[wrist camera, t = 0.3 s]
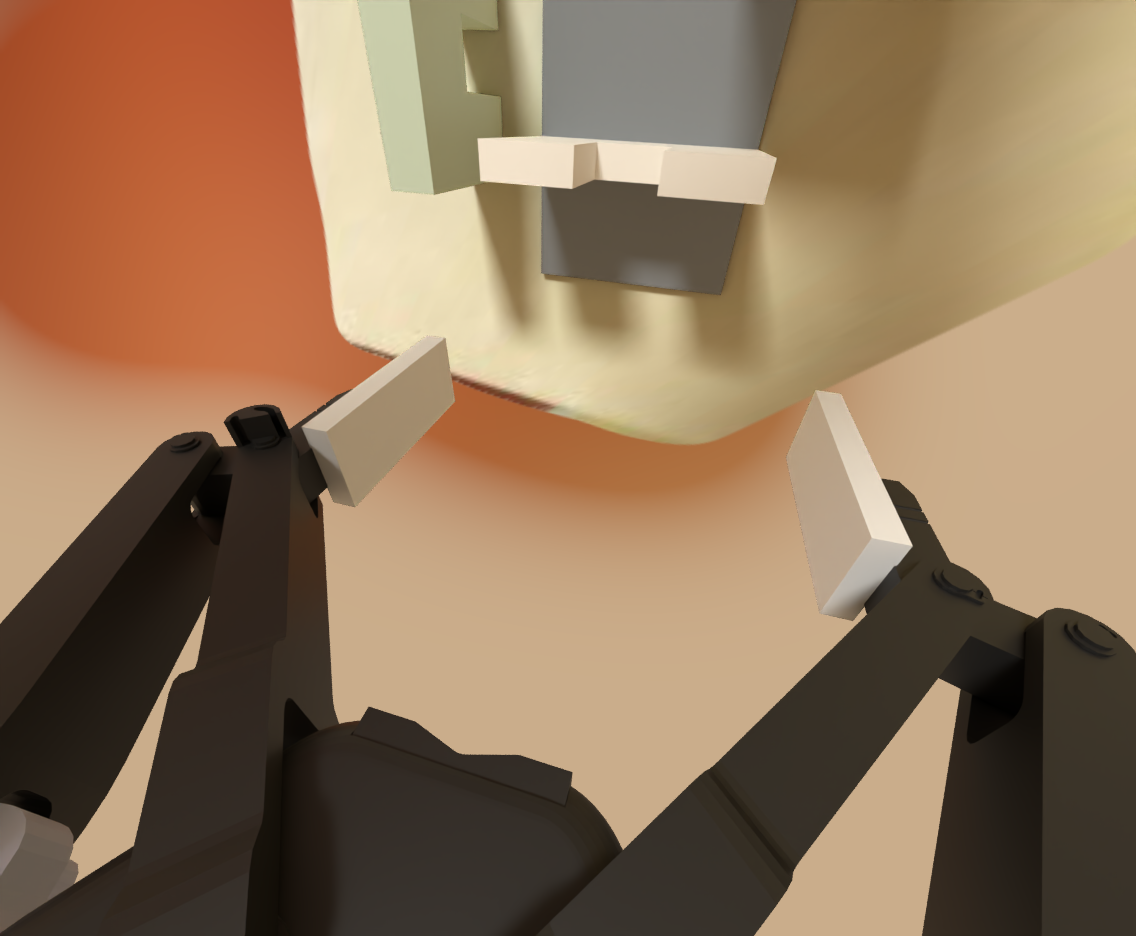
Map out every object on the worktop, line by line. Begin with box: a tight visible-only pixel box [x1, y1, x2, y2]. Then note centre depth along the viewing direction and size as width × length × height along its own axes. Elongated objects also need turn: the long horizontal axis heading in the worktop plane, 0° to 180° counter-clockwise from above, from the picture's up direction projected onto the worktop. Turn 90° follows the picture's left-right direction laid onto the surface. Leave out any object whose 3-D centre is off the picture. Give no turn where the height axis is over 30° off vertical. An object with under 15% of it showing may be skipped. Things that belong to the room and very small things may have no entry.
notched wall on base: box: [478, 0, 796, 295], centre depth 28 cm, size 16×18×13 cm
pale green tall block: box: [357, 0, 503, 195], centre depth 28 cm, size 14×3×12 cm, turn 177°
